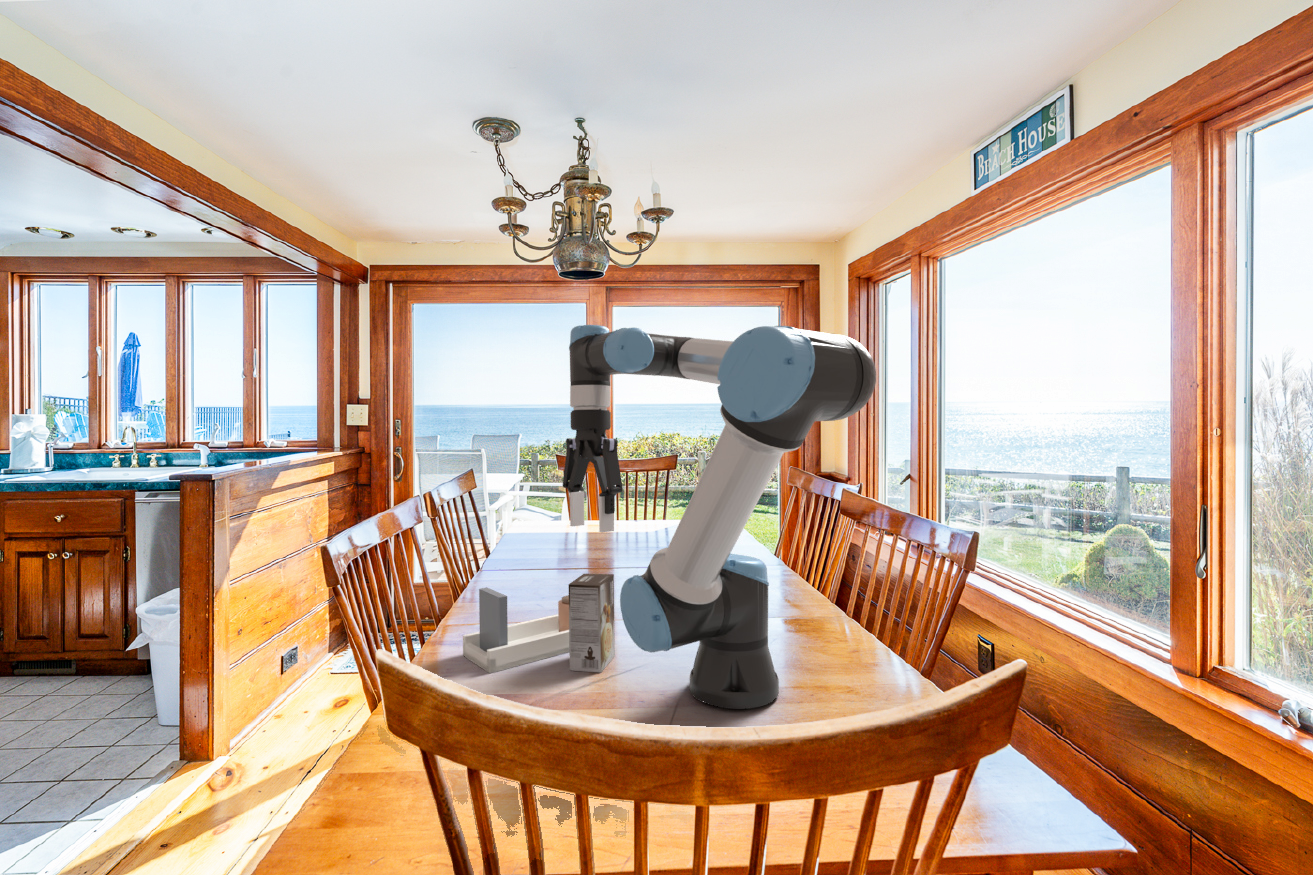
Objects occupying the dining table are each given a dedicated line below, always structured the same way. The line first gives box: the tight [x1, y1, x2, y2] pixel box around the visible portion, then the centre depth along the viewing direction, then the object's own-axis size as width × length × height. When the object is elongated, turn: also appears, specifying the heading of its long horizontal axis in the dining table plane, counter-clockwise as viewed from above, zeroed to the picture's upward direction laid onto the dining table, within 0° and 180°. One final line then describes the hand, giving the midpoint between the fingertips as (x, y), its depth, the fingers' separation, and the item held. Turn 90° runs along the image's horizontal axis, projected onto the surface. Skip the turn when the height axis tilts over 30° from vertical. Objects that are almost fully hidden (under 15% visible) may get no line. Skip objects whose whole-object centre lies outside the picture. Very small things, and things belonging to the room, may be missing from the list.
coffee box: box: [568, 573, 616, 673], centre depth 119 cm, size 9×6×16 cm
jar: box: [557, 594, 569, 632], centre depth 132 cm, size 6×6×8 cm
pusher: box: [478, 587, 508, 652], centre depth 121 cm, size 9×2×12 cm, turn 40°
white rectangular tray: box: [462, 613, 569, 674], centre depth 127 cm, size 12×26×6 cm, turn 130°
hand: (591, 528), depth 118 cm, fingers open, 9 cm apart
